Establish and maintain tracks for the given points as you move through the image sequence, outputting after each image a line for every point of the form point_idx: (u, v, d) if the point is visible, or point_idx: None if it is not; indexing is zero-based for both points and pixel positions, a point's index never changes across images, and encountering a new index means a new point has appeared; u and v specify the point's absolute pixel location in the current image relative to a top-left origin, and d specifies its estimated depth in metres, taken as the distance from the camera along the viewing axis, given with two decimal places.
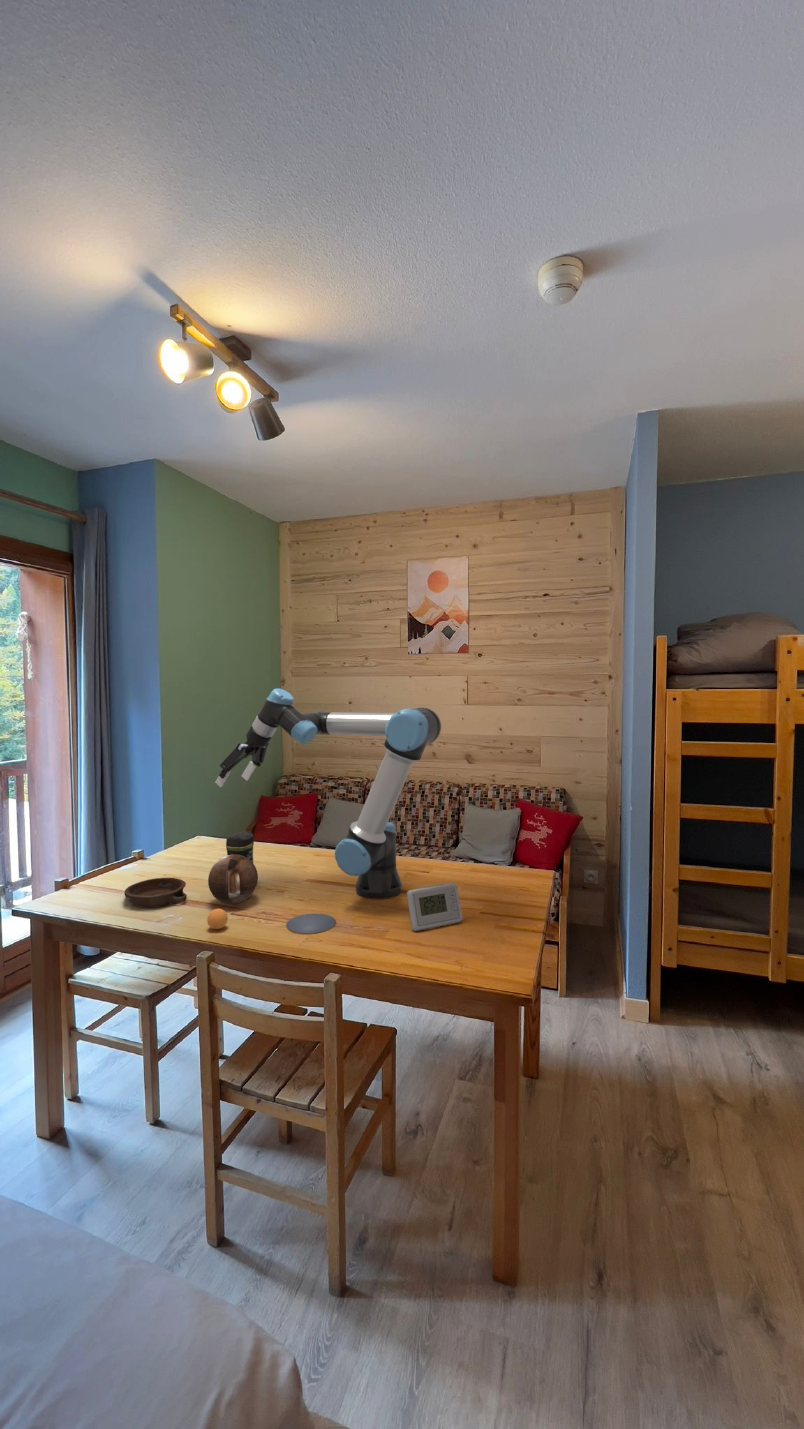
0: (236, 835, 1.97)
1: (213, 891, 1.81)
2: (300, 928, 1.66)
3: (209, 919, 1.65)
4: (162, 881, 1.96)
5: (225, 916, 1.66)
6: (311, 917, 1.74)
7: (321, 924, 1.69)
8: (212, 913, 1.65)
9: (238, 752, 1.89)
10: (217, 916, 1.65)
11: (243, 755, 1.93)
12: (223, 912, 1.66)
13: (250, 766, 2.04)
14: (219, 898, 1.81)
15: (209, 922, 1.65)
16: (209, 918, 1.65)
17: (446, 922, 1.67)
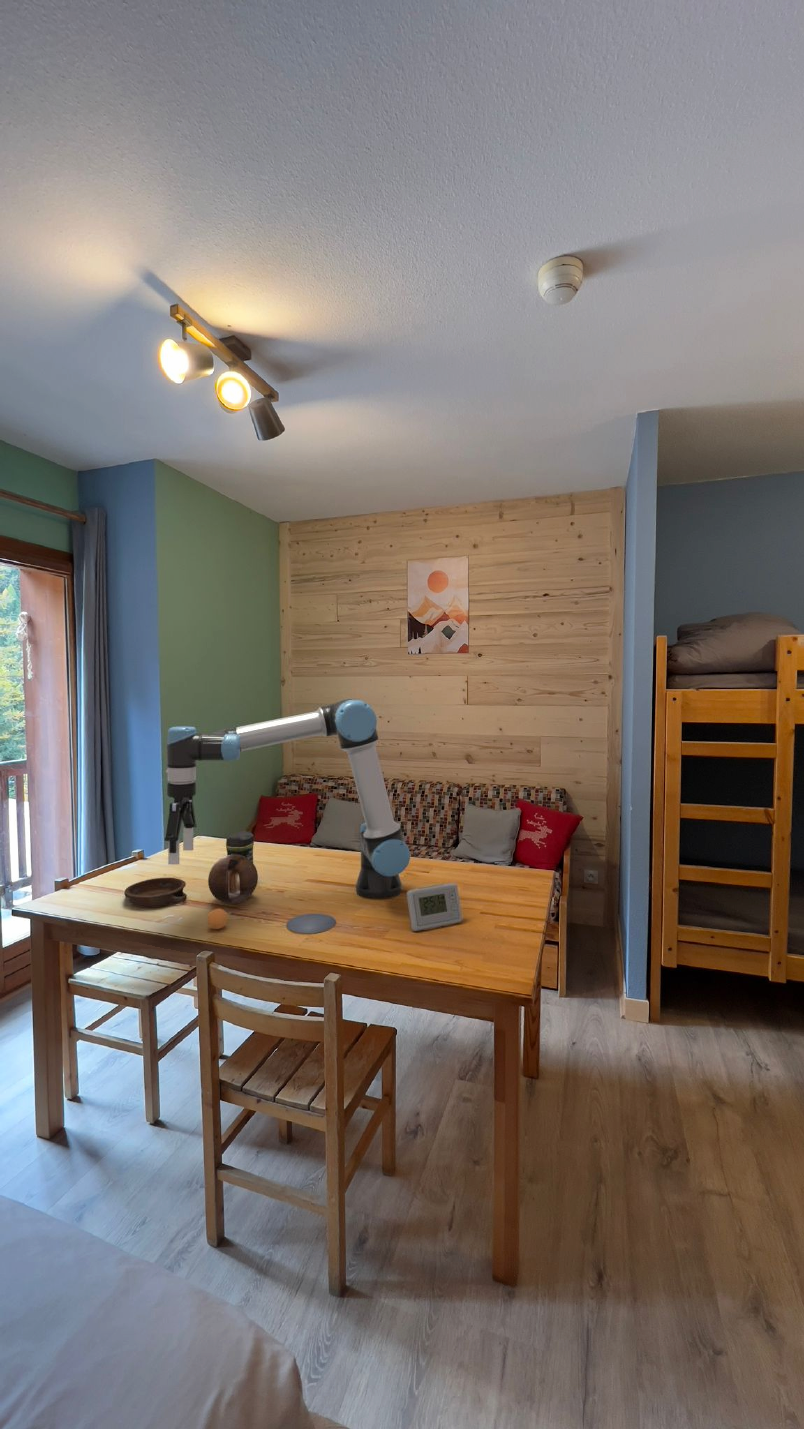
0: (236, 835, 1.97)
1: (213, 891, 1.81)
2: (300, 928, 1.66)
3: (209, 919, 1.65)
4: (162, 881, 1.96)
5: (225, 916, 1.66)
6: (311, 917, 1.74)
7: (321, 924, 1.69)
8: (212, 913, 1.65)
9: (175, 813, 1.59)
10: (217, 916, 1.65)
11: (180, 816, 1.63)
12: (223, 912, 1.66)
13: (187, 833, 1.73)
14: (219, 898, 1.81)
15: (209, 922, 1.65)
16: (209, 918, 1.65)
17: (446, 922, 1.67)
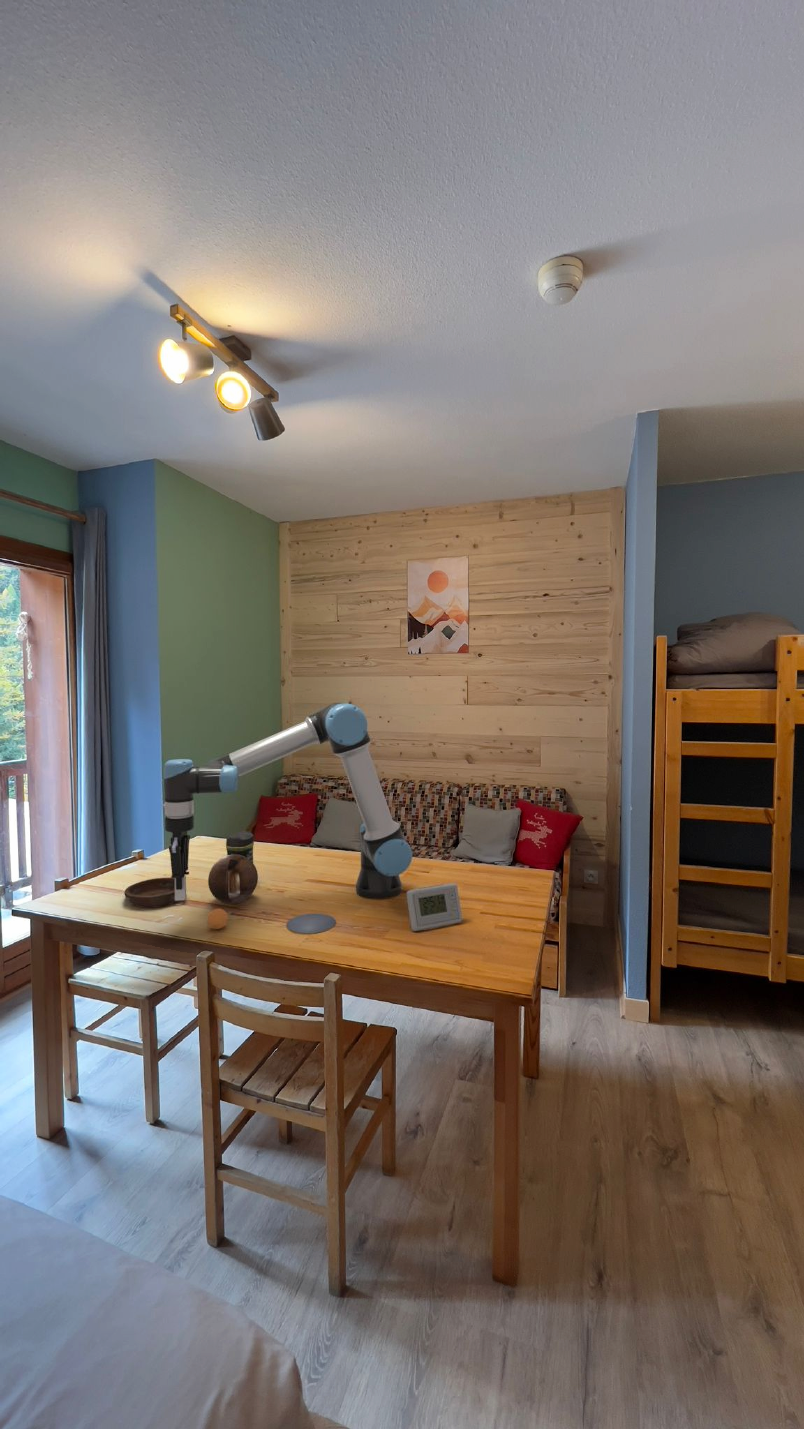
0: (236, 835, 1.97)
1: (213, 891, 1.81)
2: (300, 928, 1.66)
3: (209, 919, 1.65)
4: (162, 881, 1.96)
5: (225, 916, 1.66)
6: (311, 917, 1.74)
7: (321, 924, 1.69)
8: (212, 913, 1.65)
9: (177, 855, 1.60)
10: (217, 916, 1.65)
11: (181, 853, 1.63)
12: (223, 912, 1.66)
13: None
14: (219, 898, 1.81)
15: (209, 922, 1.65)
16: (209, 918, 1.65)
17: (446, 922, 1.67)
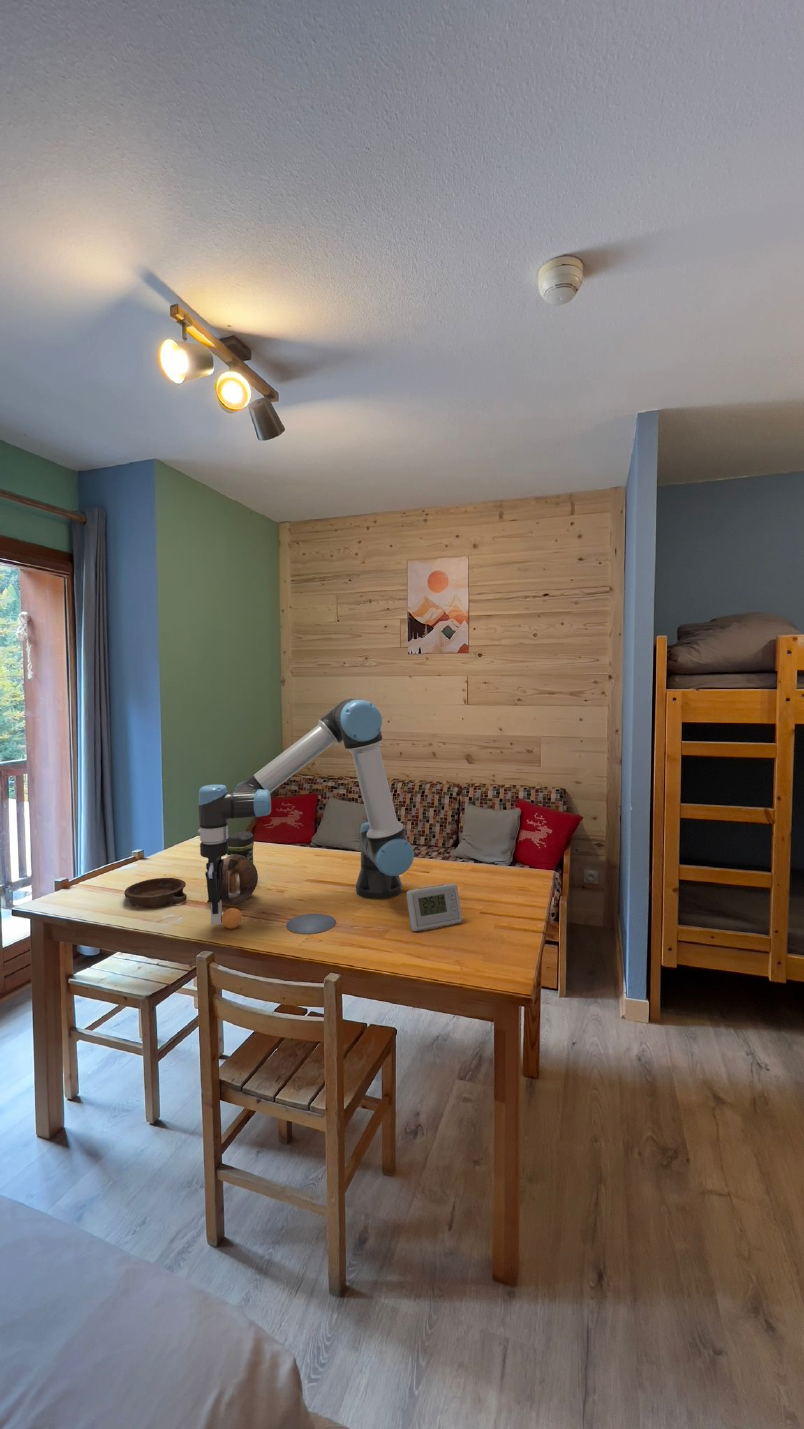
0: (236, 835, 1.97)
1: None
2: (300, 928, 1.66)
3: (229, 913, 1.65)
4: (162, 881, 1.96)
5: None
6: (311, 917, 1.74)
7: (321, 924, 1.69)
8: (236, 913, 1.66)
9: (213, 880, 1.61)
10: (236, 920, 1.65)
11: (217, 878, 1.65)
12: (240, 920, 1.67)
13: None
14: None
15: (227, 915, 1.65)
16: (230, 913, 1.65)
17: (446, 923, 1.66)
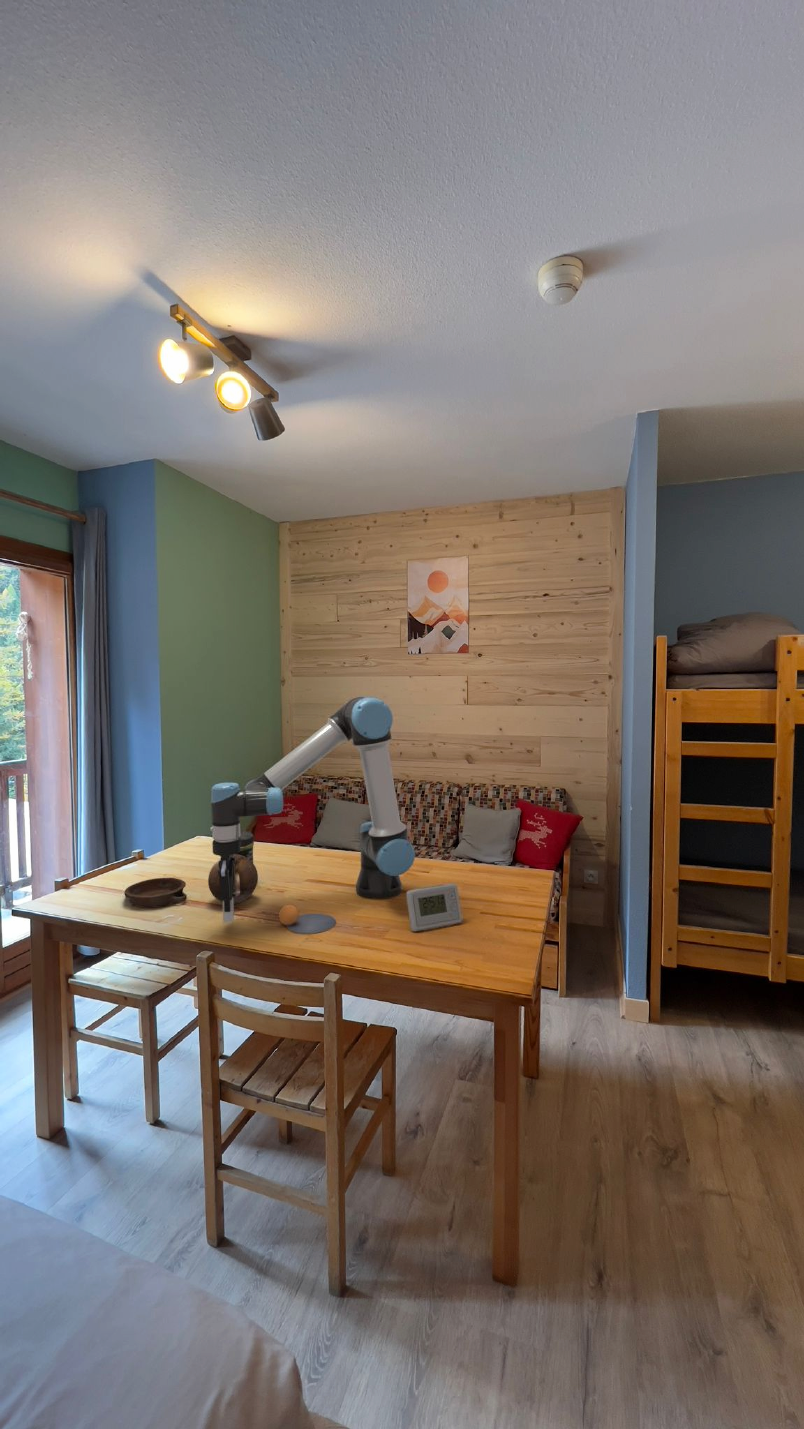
0: None
1: (213, 891, 1.81)
2: (300, 928, 1.66)
3: (283, 912, 1.67)
4: (162, 881, 1.96)
5: (297, 917, 1.69)
6: (311, 917, 1.74)
7: (321, 924, 1.69)
8: (289, 908, 1.68)
9: (225, 878, 1.61)
10: (292, 914, 1.67)
11: (229, 875, 1.65)
12: (297, 912, 1.69)
13: None
14: (219, 898, 1.81)
15: (282, 915, 1.67)
16: (284, 911, 1.67)
17: (445, 923, 1.66)
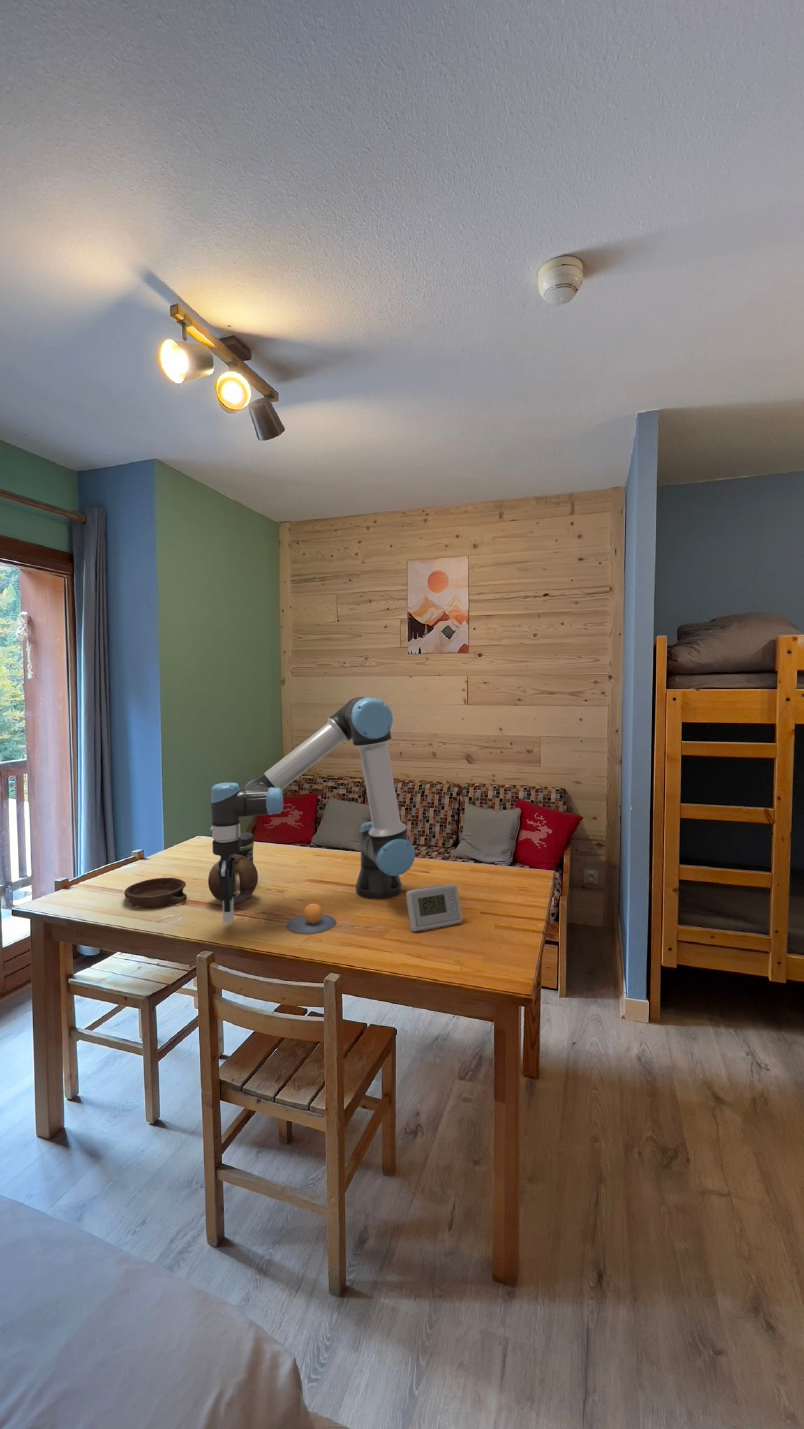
0: None
1: (213, 891, 1.81)
2: (300, 928, 1.66)
3: (320, 917, 1.68)
4: (162, 881, 1.96)
5: (305, 919, 1.69)
6: None
7: (321, 924, 1.69)
8: (317, 922, 1.69)
9: (225, 878, 1.61)
10: (311, 922, 1.68)
11: (229, 875, 1.65)
12: None
13: None
14: (219, 898, 1.81)
15: (319, 915, 1.68)
16: (319, 918, 1.69)
17: (445, 923, 1.66)
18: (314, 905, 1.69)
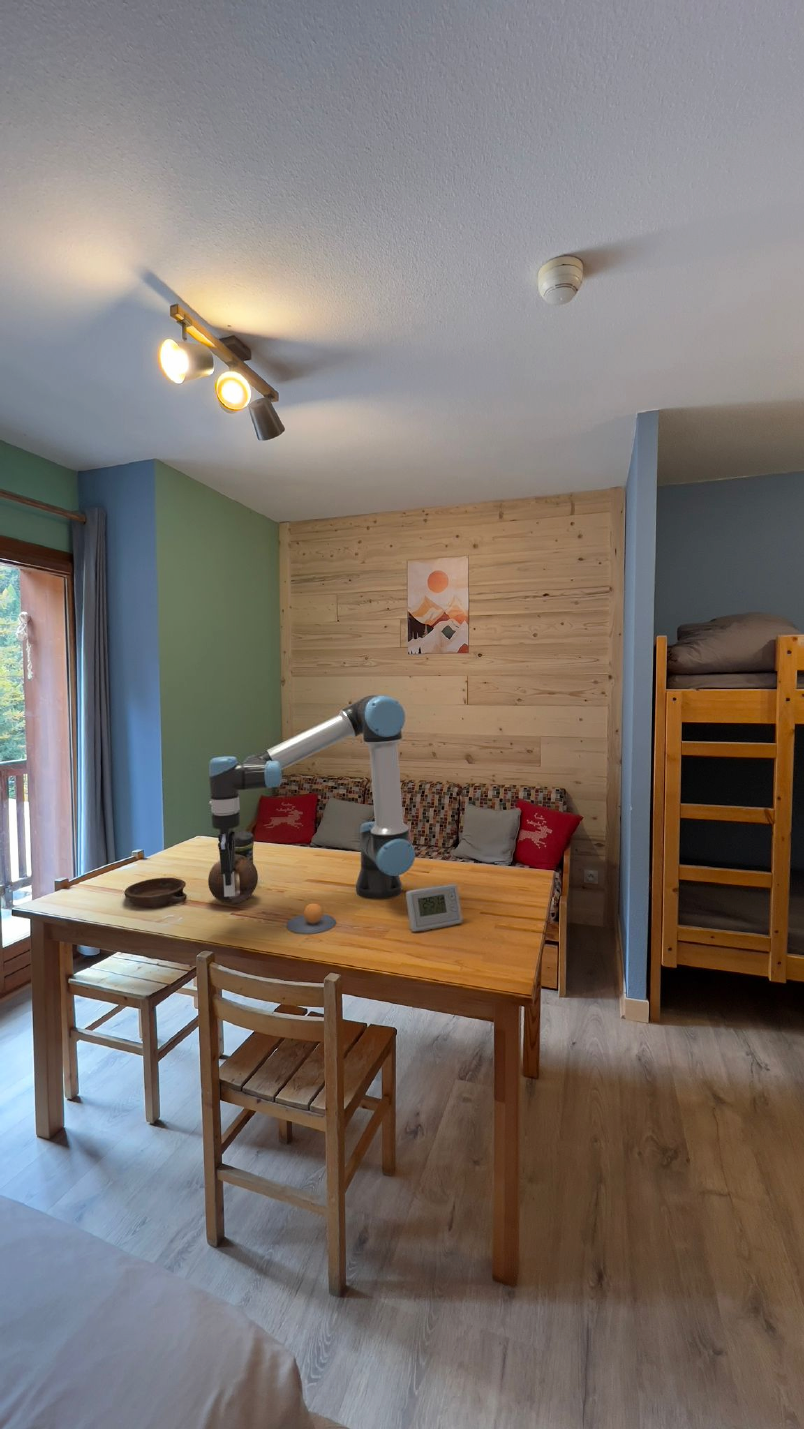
0: (236, 835, 1.97)
1: (213, 891, 1.81)
2: (300, 928, 1.66)
3: (320, 917, 1.68)
4: (162, 881, 1.96)
5: (305, 919, 1.69)
6: None
7: (321, 924, 1.69)
8: (317, 922, 1.69)
9: (226, 851, 1.61)
10: (311, 922, 1.68)
11: (229, 849, 1.64)
12: None
13: None
14: (219, 898, 1.81)
15: (319, 915, 1.68)
16: (319, 918, 1.69)
17: (445, 923, 1.66)
18: (314, 905, 1.69)
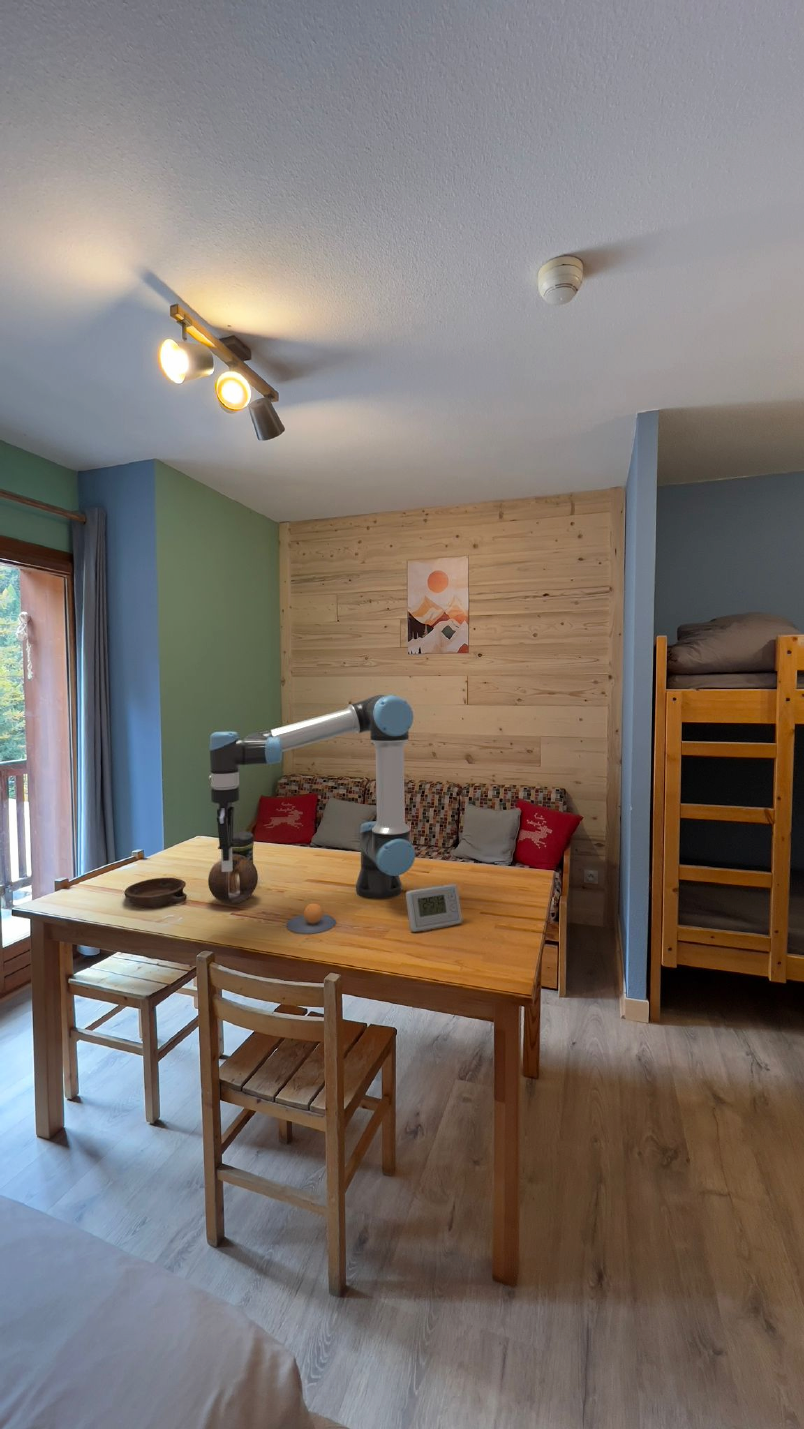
0: (236, 835, 1.97)
1: (213, 891, 1.81)
2: (300, 928, 1.66)
3: (320, 917, 1.68)
4: (162, 881, 1.96)
5: (305, 919, 1.69)
6: None
7: (321, 924, 1.69)
8: (317, 922, 1.69)
9: (224, 825, 1.61)
10: (311, 922, 1.68)
11: (228, 824, 1.64)
12: None
13: None
14: (219, 898, 1.81)
15: (319, 915, 1.68)
16: (319, 918, 1.69)
17: (445, 923, 1.66)
18: (314, 905, 1.69)
